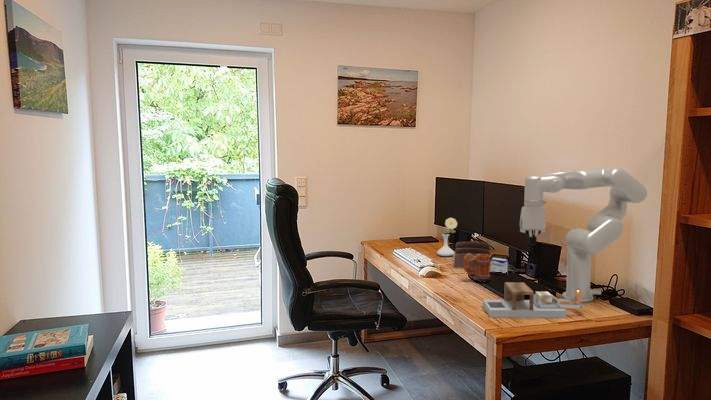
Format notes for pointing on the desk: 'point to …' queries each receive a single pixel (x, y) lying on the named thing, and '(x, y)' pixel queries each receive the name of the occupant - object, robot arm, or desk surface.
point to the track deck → (520, 310)
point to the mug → (477, 265)
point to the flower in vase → (445, 249)
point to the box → (499, 265)
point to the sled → (556, 301)
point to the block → (544, 297)
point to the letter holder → (471, 248)
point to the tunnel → (517, 293)
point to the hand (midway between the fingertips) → (532, 245)
